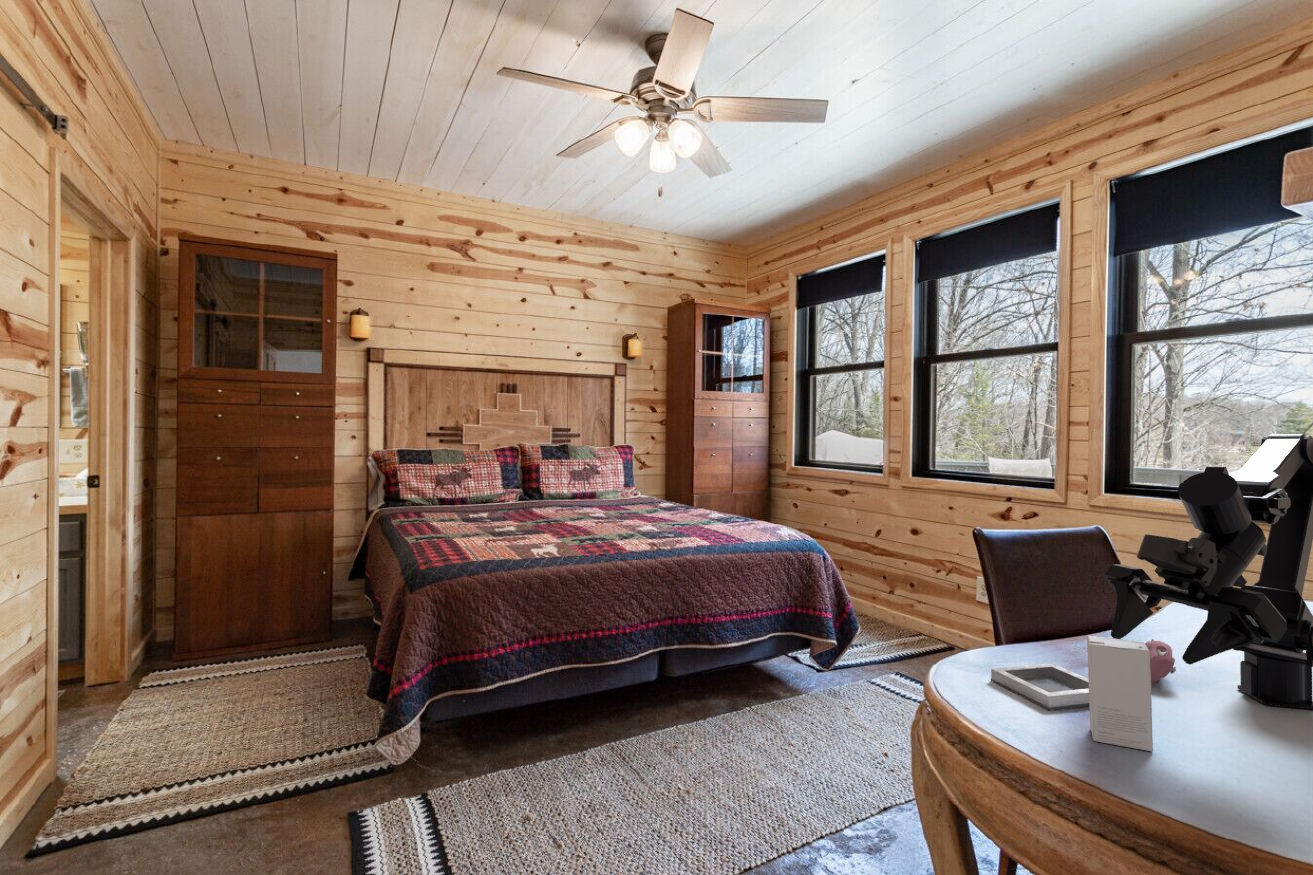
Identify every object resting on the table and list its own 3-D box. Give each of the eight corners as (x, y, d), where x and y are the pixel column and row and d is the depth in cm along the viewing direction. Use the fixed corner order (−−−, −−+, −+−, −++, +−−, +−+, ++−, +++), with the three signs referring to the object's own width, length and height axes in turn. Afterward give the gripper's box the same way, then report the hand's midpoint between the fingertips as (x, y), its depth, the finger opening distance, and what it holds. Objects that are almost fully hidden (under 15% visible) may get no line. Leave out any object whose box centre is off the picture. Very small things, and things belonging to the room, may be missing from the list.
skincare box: (1147, 739, 78) (1146, 640, 78) (1154, 754, 74) (1153, 650, 74) (1087, 728, 81) (1086, 633, 81) (1090, 742, 77) (1089, 642, 77)
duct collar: (1052, 675, 100) (1051, 663, 100) (1116, 703, 89) (1115, 689, 89) (990, 680, 97) (990, 668, 97) (1048, 710, 87) (1048, 696, 87)
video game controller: (1159, 700, 94) (1186, 661, 92) (1125, 681, 96) (1151, 642, 94) (1150, 678, 102) (1174, 643, 101) (1118, 661, 104) (1142, 626, 103)
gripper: (1114, 505, 89) (1047, 588, 87) (1266, 521, 71) (1187, 626, 68) (1160, 560, 91) (1095, 642, 88) (1321, 589, 72) (1245, 694, 70)
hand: (1147, 649), depth 79 cm, fingers open, 9 cm apart
